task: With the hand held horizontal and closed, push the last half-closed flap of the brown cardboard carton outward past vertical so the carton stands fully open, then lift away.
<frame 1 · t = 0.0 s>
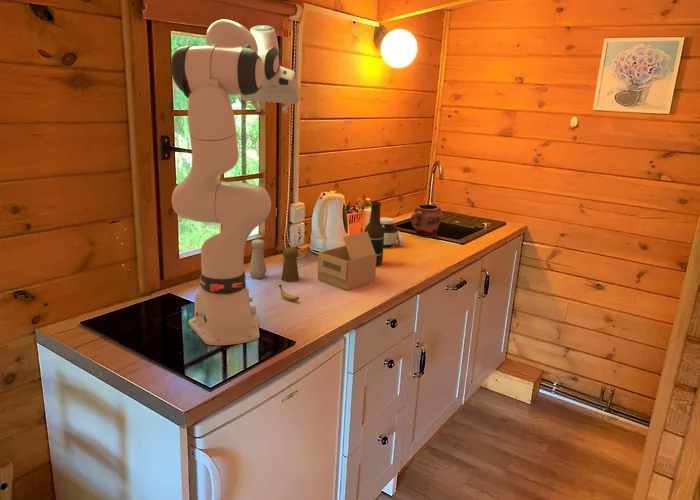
hand: (271, 111, 191), 54 cm above the worktop, tool tilted 30°, fingers open, 8 cm apart
salt shaker: (257, 277, 189), on the worktop
carton: (346, 280, 189), on the worktop
flap: (359, 245, 182), point 14 cm above the worktop, hinge at 60.0°
banana: (288, 300, 170), on the worktop
decorative planter: (424, 236, 254), on the worktop
beer bottle: (372, 264, 209), on the worktop
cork: (290, 279, 188), on the worktop
spread jar: (388, 246, 234), on the worktop
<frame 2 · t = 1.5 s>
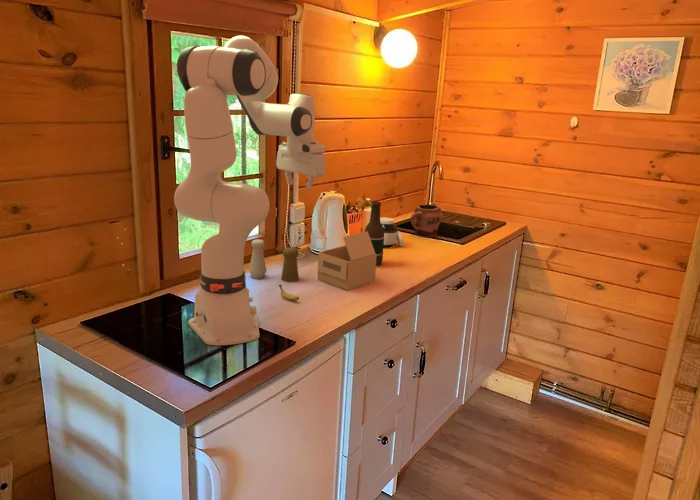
hand: (299, 186, 185), 31 cm above the worktop, tool pointing down, fingers open, 8 cm apart
nothing on the worktop moved.
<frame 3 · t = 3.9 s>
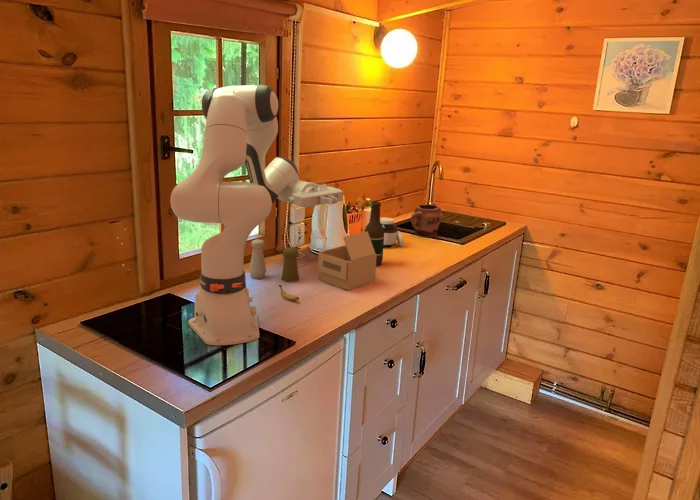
hand: (334, 201, 186), 27 cm above the worktop, tool horizontal, fingers closed
nothing on the worktop moved.
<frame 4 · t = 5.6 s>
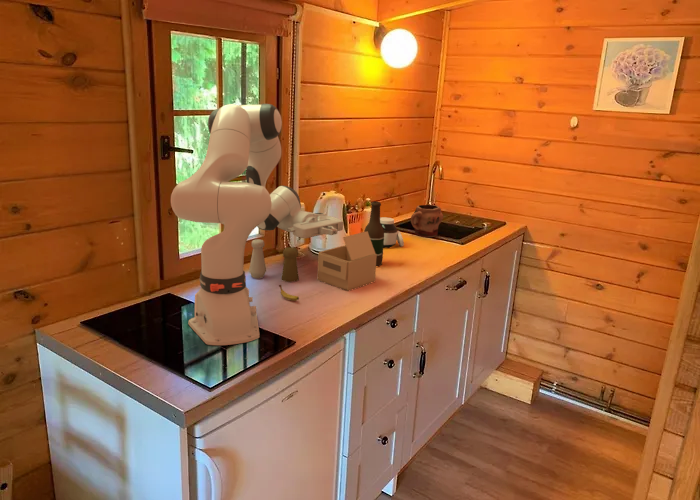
hand: (334, 232, 189), 16 cm above the worktop, tool horizontal, fingers closed
nothing on the worktop moved.
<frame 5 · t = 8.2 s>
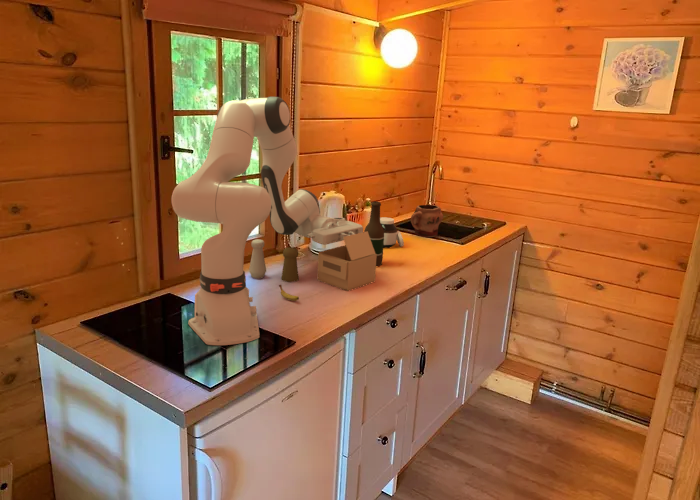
hand: (355, 238, 183), 16 cm above the worktop, tool horizontal, fingers closed, pressing on flap
flap: (359, 245, 182), point 14 cm above the worktop, hinge at 60.0°, touching gripper
everything else where it was.
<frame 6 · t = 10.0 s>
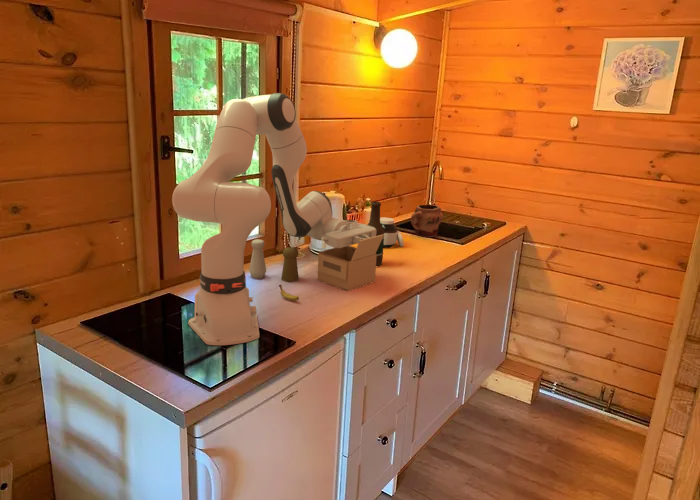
hand: (369, 241, 179), 16 cm above the worktop, tool horizontal, fingers closed, pressing on flap
flap: (367, 247, 180), point 14 cm above the worktop, hinge at 113.3°, touching gripper
everything else where it was.
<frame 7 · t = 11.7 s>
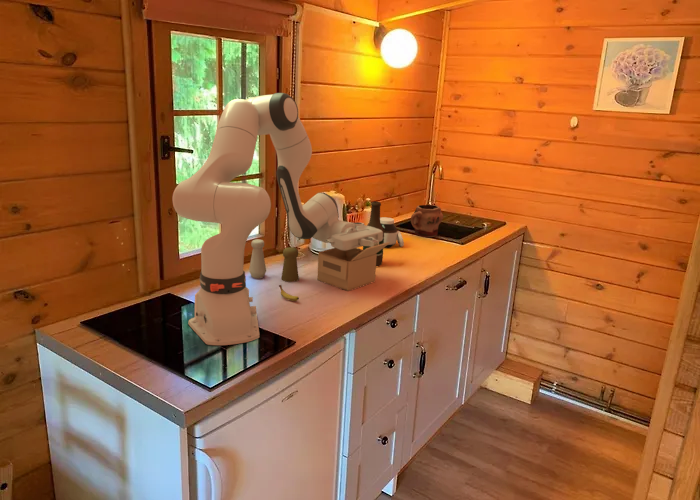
hand: (376, 243, 177), 16 cm above the worktop, tool horizontal, fingers closed
flap: (370, 251, 179), point 13 cm above the worktop, hinge at 138.1°
everything else where it was.
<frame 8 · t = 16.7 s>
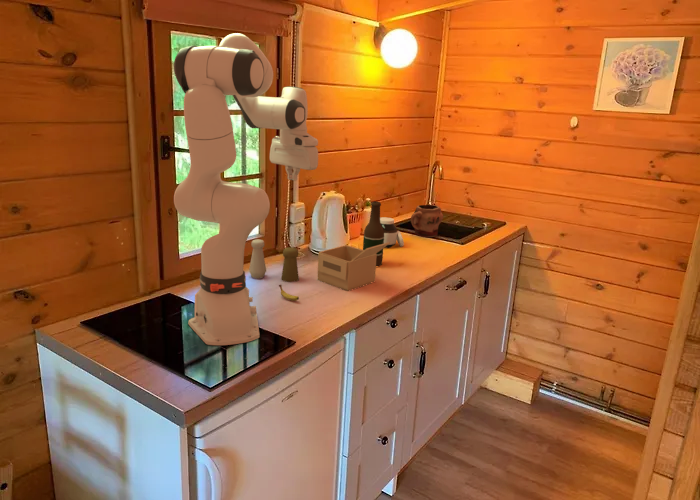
hand: (292, 179, 185), 33 cm above the worktop, tool pointing down, fingers closed
flap: (370, 251, 179), point 13 cm above the worktop, hinge at 138.6°
everything else where it was.
at the end: flap at +139° (first picture: +60°); flap touching nothing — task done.
